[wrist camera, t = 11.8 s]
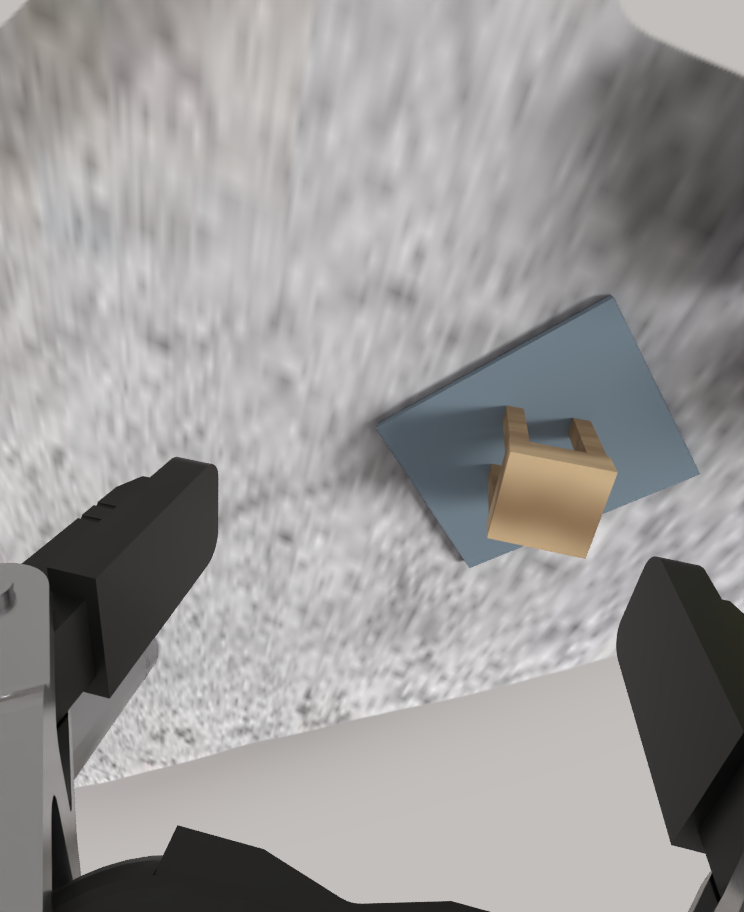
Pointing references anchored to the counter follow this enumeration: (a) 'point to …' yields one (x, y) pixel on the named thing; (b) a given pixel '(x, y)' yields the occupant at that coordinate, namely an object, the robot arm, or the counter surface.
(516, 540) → the wooden stool
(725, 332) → the counter surface
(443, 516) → the mat
